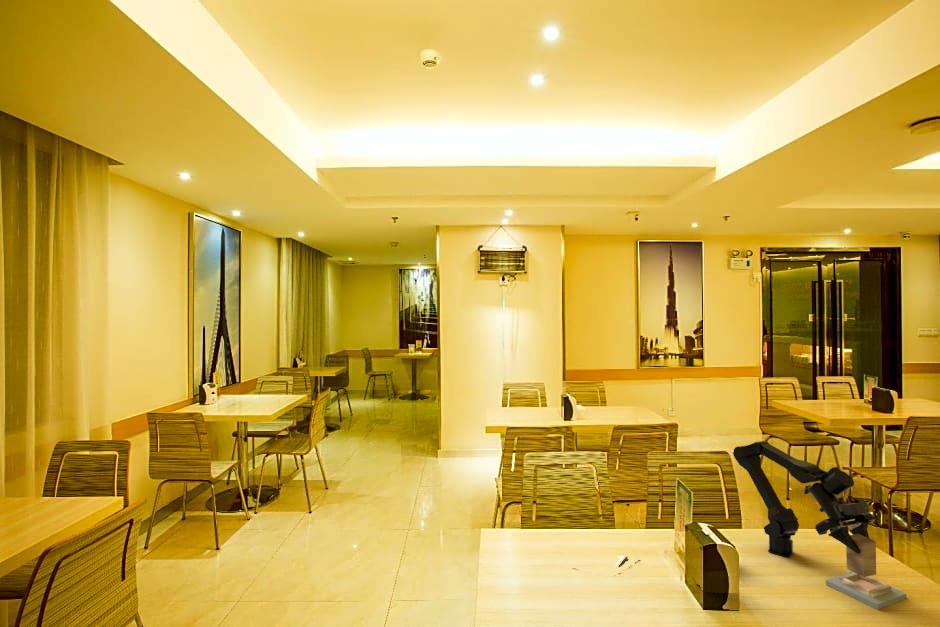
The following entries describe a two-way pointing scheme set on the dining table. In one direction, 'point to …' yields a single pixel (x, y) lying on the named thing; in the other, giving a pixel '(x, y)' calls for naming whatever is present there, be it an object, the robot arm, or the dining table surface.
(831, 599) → the dining table surface
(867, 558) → the walnut block
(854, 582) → the grey square framed tray
